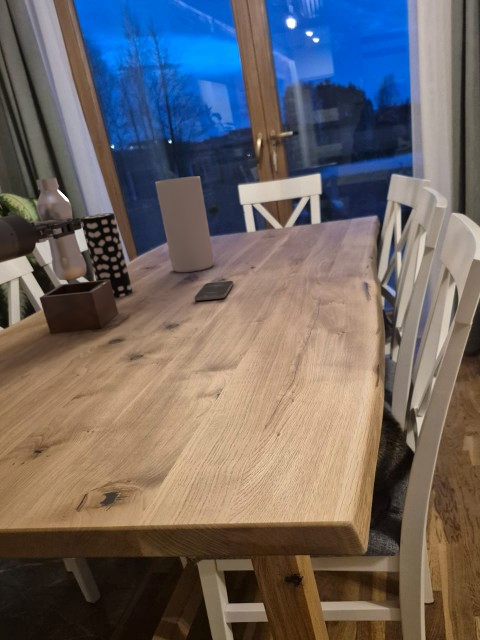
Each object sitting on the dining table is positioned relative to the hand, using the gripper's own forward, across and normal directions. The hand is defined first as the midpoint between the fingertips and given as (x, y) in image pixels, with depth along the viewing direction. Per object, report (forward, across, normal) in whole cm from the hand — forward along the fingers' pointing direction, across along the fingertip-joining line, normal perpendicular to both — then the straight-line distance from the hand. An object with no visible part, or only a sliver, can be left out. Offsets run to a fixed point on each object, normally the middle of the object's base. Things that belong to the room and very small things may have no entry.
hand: (67, 223), depth 120 cm
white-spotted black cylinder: (+23, +13, +22) cm, 34 cm away
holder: (+1, +3, +22) cm, 22 cm away
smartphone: (+25, -17, +22) cm, 37 cm away
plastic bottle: (-2, 0, +11) cm, 11 cm away
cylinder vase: (+52, +6, +22) cm, 56 cm away
